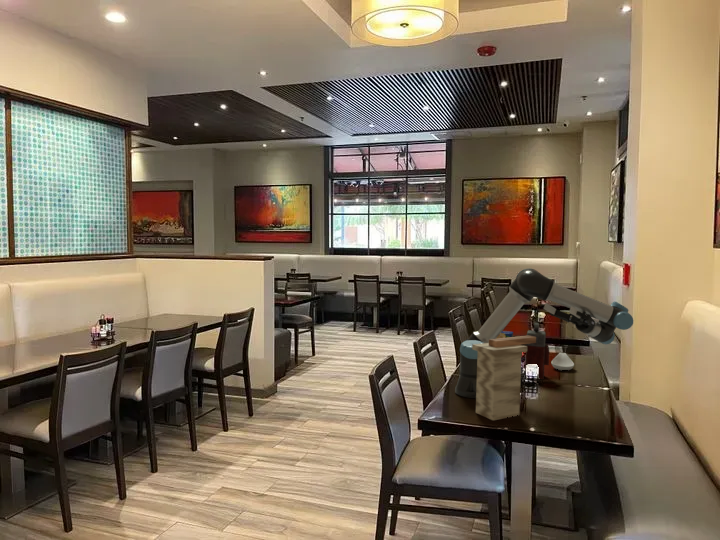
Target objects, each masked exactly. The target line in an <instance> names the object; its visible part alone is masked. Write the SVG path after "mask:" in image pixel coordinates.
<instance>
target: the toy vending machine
mask: <svg viewBox="0 0 720 540" xmlns="http://www.w3.org/2000/svg"><path fill="white" fill-rule="evenodd" d="M539 328H540V323H539V322H534V326H533V330H530V329H528V330H527V333H526V336H527V335H529V336H534V337H536V343H530V344H525V346H527V352H526V365H527V364H537V365H538V367H539V378H540V379H545V378H544V377H545V366H549V365H550V347H549V344H548V343H546V339H547V338H546V336H547V333H546V331H543V330H542V331H541V330H540V329H539ZM526 365H525V366H526ZM540 379H539V380H540Z"/></svg>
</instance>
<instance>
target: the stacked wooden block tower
mask: <svg viewBox="0 0 720 540" xmlns="http://www.w3.org/2000/svg"><path fill="white" fill-rule="evenodd" d="M472 349H473V350H476V351H478V356H477V386H476V398H475V414H478V415H480V416H482V417H484V418H487V419H489V420H490V421H497V420H502V419H507V417H508V418H512V416H513V417H518V416H520V408H521V407H520V405H521V404H520V403H521V402H520V401H521V377H522V376H521V375H522V367H521V356H522V352H527V346H526V345H525V344H521V345H512V346H503V347H493V346H489V343H481V344H472ZM517 415H518V416H517Z"/></svg>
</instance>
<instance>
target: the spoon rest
mask: <svg viewBox="0 0 720 540" xmlns="http://www.w3.org/2000/svg"><path fill="white" fill-rule="evenodd" d="M551 366H552V367H553V368H554V369H556V370H557V369H558V370H557V371H562V370H568V371H570V370H572V369H573V368H574V367H575V363H574V362H573V360H572V359H571V358H570V356H568V354H567V353H566V352H559V353H558V354H557V355H556V356H555V357H554V358H553V359H552V360H551Z"/></svg>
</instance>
